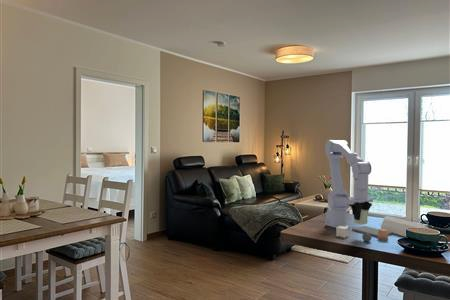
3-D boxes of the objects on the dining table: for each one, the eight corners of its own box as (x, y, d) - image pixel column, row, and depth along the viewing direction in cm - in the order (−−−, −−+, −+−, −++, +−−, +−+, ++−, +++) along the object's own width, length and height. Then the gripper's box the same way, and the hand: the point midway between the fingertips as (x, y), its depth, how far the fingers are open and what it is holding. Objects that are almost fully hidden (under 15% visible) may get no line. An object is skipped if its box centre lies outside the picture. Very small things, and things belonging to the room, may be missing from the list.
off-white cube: (336, 236, 147) (336, 227, 147) (339, 234, 150) (340, 225, 150) (344, 237, 145) (345, 229, 145) (348, 236, 148) (348, 227, 147)
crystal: (374, 222, 159) (421, 235, 137) (384, 214, 162) (431, 225, 139) (380, 234, 161) (426, 249, 139) (389, 226, 163) (436, 239, 141)
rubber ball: (360, 241, 140) (360, 232, 140) (365, 239, 142) (365, 231, 142) (367, 243, 137) (368, 234, 137) (373, 242, 138) (373, 233, 138)
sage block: (353, 222, 145) (354, 209, 145) (359, 221, 147) (359, 208, 147) (361, 224, 142) (361, 211, 142) (367, 223, 144) (367, 210, 144)
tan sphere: (375, 238, 144) (376, 229, 144) (381, 237, 146) (381, 228, 146) (384, 240, 141) (384, 231, 141) (389, 239, 143) (390, 230, 143)
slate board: (351, 230, 157) (352, 228, 157) (364, 227, 162) (365, 225, 162) (378, 237, 145) (378, 235, 145) (391, 234, 150) (391, 232, 150)
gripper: (358, 191, 137) (357, 222, 137) (379, 188, 145) (378, 219, 145) (344, 188, 143) (343, 219, 144) (365, 187, 151) (364, 216, 151)
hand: (360, 219), depth 145 cm, fingers closed on sage block, 4 cm apart
